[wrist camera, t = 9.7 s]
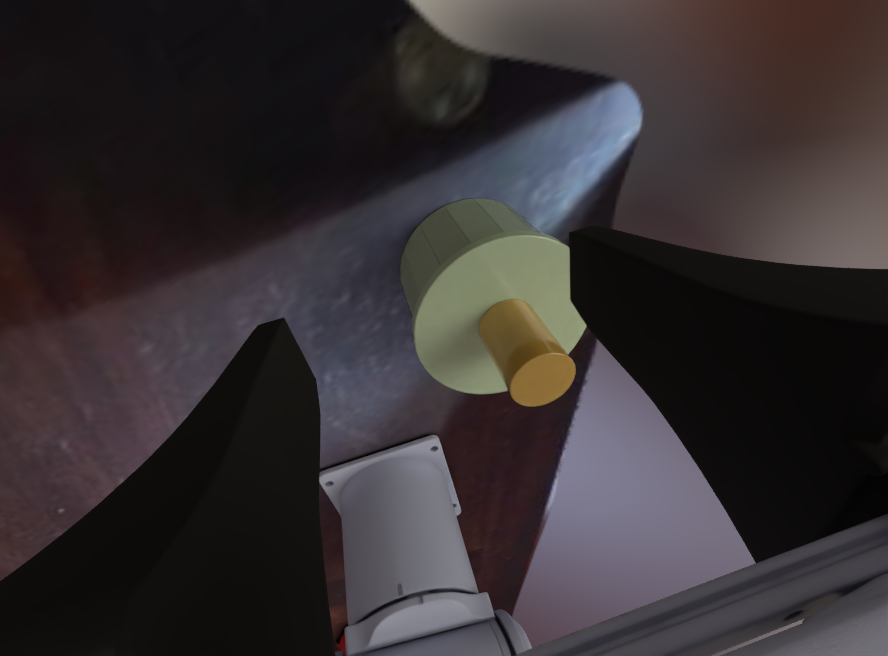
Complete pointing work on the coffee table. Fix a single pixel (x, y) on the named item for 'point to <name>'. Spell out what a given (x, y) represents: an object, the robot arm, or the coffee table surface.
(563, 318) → the lid
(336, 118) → the coffee table surface
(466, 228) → the tin
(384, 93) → the coffee table surface
